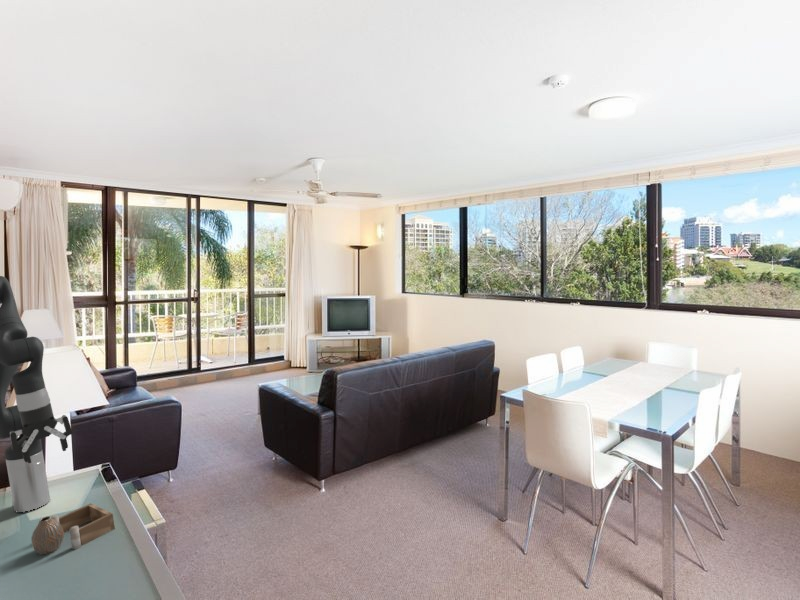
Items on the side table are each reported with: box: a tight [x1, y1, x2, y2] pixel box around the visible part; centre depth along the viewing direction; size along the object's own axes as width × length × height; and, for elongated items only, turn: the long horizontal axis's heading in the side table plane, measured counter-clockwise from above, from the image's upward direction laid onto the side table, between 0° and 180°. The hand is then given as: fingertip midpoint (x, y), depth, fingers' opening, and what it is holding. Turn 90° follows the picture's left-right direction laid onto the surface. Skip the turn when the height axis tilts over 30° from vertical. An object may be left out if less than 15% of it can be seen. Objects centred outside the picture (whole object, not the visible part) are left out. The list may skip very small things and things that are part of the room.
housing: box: [50, 503, 116, 550], centre depth 132 cm, size 14×10×6 cm
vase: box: [31, 516, 65, 555], centre depth 125 cm, size 7×7×9 cm
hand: (47, 456), depth 140 cm, fingers open, 8 cm apart
